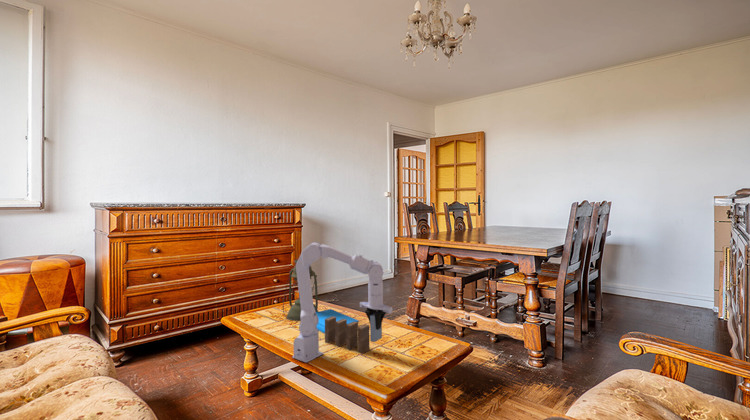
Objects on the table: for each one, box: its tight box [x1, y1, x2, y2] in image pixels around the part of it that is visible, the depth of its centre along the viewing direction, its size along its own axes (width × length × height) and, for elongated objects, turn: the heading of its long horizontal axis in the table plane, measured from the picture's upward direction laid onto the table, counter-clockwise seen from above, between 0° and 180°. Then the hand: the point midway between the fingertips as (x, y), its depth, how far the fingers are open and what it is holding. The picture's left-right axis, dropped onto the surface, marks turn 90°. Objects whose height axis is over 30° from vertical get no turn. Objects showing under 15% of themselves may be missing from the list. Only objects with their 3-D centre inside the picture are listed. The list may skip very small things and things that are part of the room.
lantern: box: [282, 259, 319, 322], centre depth 188 cm, size 21×18×30 cm
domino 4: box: [357, 323, 370, 354], centre depth 142 cm, size 2×5×10 cm, turn 145°
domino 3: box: [345, 321, 359, 351], centre depth 146 cm, size 2×5×10 cm, turn 145°
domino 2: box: [334, 319, 347, 348], centre depth 149 cm, size 2×5×10 cm, turn 145°
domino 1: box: [324, 316, 336, 344], centre depth 153 cm, size 2×5×10 cm, turn 145°
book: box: [316, 308, 360, 334], centre depth 173 cm, size 17×4×25 cm
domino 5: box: [369, 314, 383, 343], centre depth 139 cm, size 2×5×10 cm, turn 145°
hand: (375, 328), depth 139 cm, fingers closed on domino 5, 2 cm apart
